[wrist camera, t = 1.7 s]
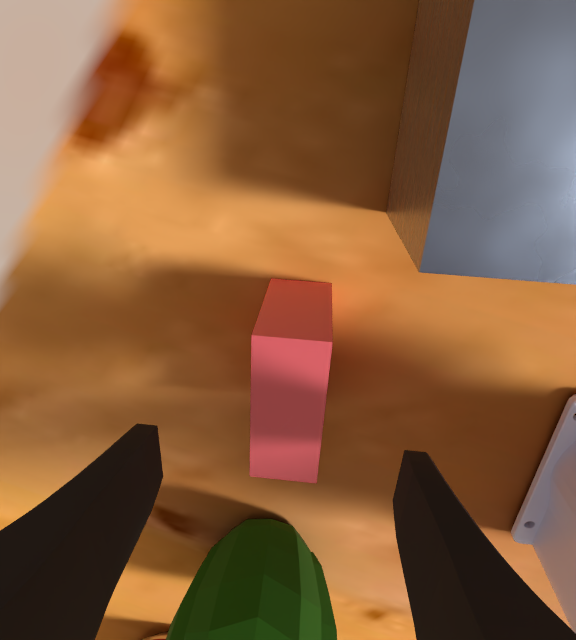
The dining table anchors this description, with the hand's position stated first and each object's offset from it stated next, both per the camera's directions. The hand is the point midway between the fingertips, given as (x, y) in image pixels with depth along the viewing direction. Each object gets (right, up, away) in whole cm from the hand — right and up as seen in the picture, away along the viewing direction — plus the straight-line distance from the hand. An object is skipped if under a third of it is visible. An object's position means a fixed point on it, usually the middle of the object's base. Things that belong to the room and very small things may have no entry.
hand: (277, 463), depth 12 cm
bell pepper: (-1, -9, +13) cm, 16 cm away
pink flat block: (+1, +3, +6) cm, 7 cm away
